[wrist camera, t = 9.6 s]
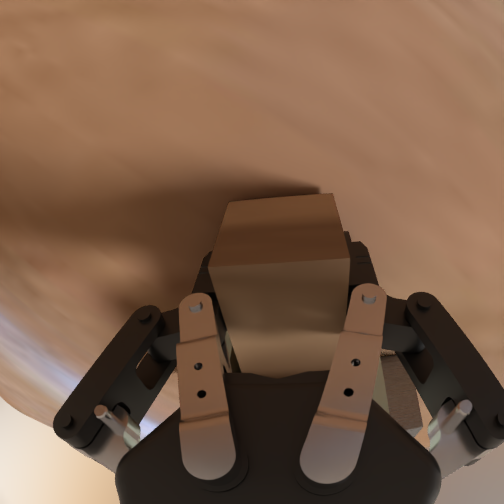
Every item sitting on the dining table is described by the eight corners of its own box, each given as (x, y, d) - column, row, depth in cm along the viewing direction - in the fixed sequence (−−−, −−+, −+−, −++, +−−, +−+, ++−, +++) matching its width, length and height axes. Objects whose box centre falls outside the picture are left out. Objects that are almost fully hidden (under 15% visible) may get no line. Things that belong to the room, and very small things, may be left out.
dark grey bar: (192, 363, 22) (174, 433, 18) (407, 353, 20) (422, 426, 15) (208, 393, 25) (196, 455, 21) (394, 386, 23) (403, 449, 18)
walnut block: (228, 201, 14) (207, 267, 10) (332, 193, 13) (350, 258, 9) (263, 360, 21) (258, 419, 17) (329, 357, 20) (333, 417, 16)
